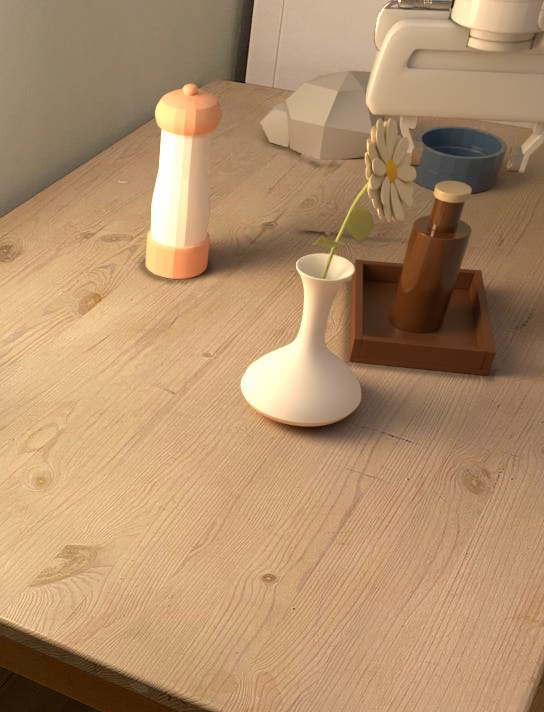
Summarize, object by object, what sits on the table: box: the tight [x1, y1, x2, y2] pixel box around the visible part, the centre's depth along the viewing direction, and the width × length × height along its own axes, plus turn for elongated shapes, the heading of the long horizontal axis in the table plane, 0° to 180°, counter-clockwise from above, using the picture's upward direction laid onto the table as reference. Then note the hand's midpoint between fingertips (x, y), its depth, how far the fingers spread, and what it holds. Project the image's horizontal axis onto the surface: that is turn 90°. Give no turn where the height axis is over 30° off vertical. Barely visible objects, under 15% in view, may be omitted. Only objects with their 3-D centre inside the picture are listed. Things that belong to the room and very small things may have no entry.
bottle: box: [389, 181, 472, 333], centre depth 96 cm, size 6×6×14 cm
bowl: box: [412, 125, 508, 195], centre depth 125 cm, size 11×11×5 cm
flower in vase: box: [240, 117, 416, 427], centre depth 83 cm, size 13×11×25 cm
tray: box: [348, 259, 497, 376], centre depth 100 cm, size 14×18×3 cm
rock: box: [259, 70, 386, 161], centre depth 134 cm, size 18×20×10 cm
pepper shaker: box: [145, 83, 223, 280], centre depth 104 cm, size 7×7×19 cm
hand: (462, 167), depth 89 cm, fingers open, 8 cm apart
